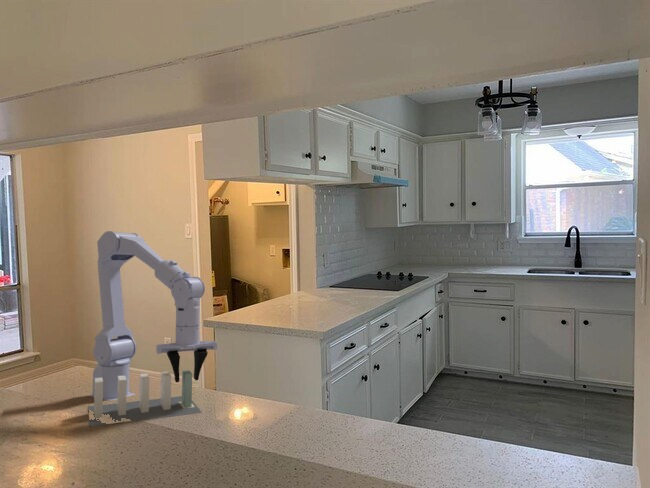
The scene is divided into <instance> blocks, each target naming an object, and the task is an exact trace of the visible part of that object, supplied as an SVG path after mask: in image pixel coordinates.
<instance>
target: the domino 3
mask: <svg viewBox="0 0 650 488" xmlns="http://www.w3.org/2000/svg"><path fill="white" fill-rule="evenodd" d="M149 400H150V377H149V375H148V373H139V400H138V401H139V408H140V410H141V413H144V412H149Z"/></svg>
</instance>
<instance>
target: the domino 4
mask: <svg viewBox="0 0 650 488" xmlns="http://www.w3.org/2000/svg"><path fill="white" fill-rule="evenodd" d="M160 374H161V375H160V378H161V379H160V399H161V406H162V408H163V410H168V409H171V397H172V374H170V373H169V371H162V372H161V373H160Z"/></svg>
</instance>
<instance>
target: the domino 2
mask: <svg viewBox="0 0 650 488" xmlns="http://www.w3.org/2000/svg"><path fill="white" fill-rule="evenodd" d="M126 390H127V379H126V377H125V375H124V376H118V391H117V399H116V401H117V402H116V404H117V411H118V415H126V402H127V397H126Z"/></svg>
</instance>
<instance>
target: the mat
mask: <svg viewBox="0 0 650 488" xmlns="http://www.w3.org/2000/svg"><path fill="white" fill-rule="evenodd" d="M88 410H91V411H93V412H94V405H92V406H91V405H90V406H87V411H88ZM202 413H203V412H202V411H201V410H200V408H199V407H198V405H196V403H195V402H194V401H193V400H192V407H184V405H183V403H182V395H181V396H171V409H168V410H163V408H162V406H161V398H155V399H154V398H152V399H149V412H144V413H141V410H140V408H139V400H135V401H126V415H118V411H117V403H109V404H103V411H102V414H104V415H105V414H106V415H107V414H109V415H110V418H111V417H112V420H113V419H115V420H114V421H115V422H116V420H118V421H121V418H126V419H130V420H131V421H134V422H140V421H141V422H142V421H146V420H148V421H149V420H156V419H163V418H164V419H165V418H172V417H180V416H186V415H193V414H194V415H195V414H202ZM93 415H94V414H93ZM97 420H99V419H97ZM97 420H96V418H95V419H94V420H92V419H91V420H89V419H88V428H94V427H102V426H109V425H108V424H106V423H101V421H100V420H99V421H97ZM114 425H117V424H116V423H115V424H114Z"/></svg>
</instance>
